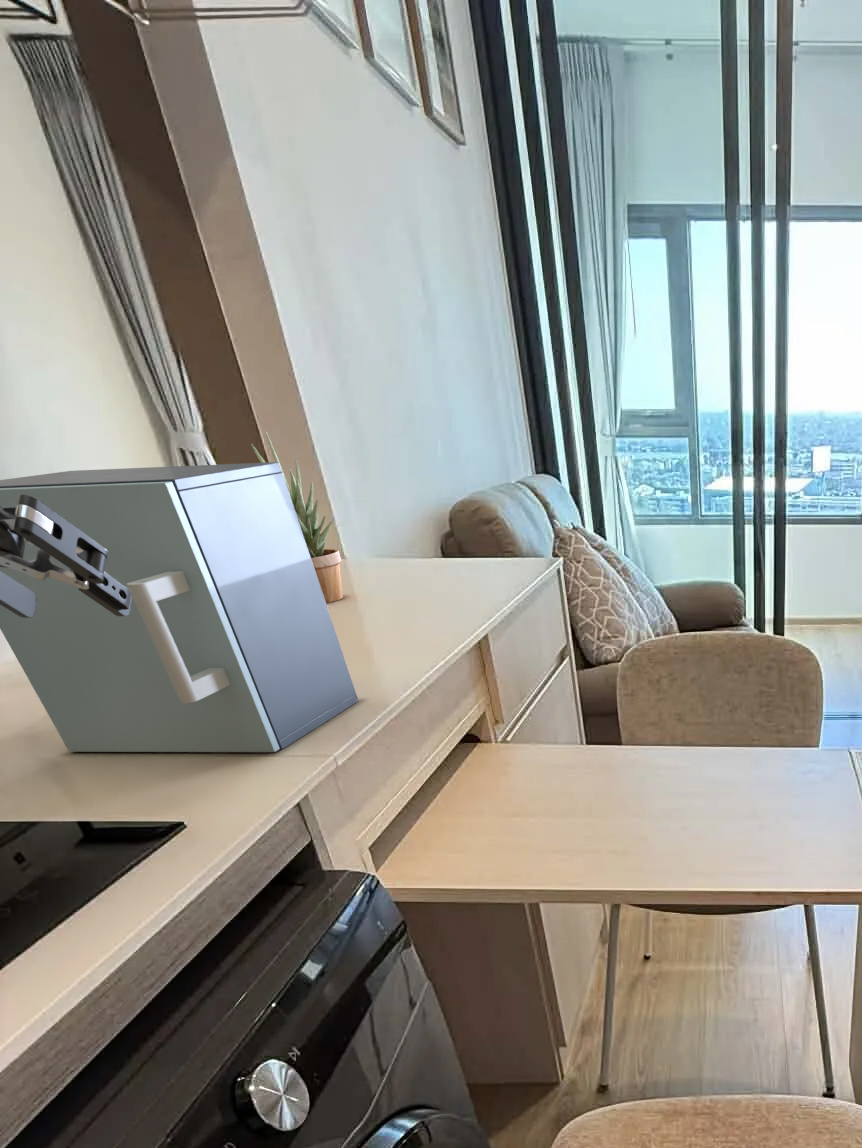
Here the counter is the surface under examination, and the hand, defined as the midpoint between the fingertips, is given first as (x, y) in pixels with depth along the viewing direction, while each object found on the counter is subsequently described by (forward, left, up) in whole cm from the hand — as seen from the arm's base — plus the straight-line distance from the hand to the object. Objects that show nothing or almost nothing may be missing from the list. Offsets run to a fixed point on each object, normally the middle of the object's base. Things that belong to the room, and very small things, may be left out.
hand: (79, 606), depth 68 cm
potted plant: (-35, +87, -17) cm, 95 cm away
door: (-9, +9, -16) cm, 21 cm away
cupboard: (-9, +21, -16) cm, 28 cm away
